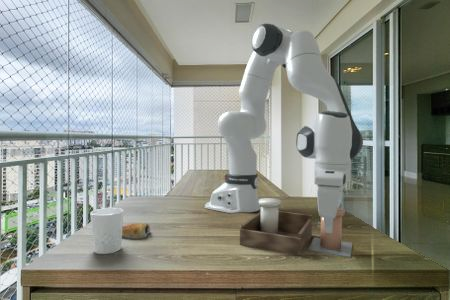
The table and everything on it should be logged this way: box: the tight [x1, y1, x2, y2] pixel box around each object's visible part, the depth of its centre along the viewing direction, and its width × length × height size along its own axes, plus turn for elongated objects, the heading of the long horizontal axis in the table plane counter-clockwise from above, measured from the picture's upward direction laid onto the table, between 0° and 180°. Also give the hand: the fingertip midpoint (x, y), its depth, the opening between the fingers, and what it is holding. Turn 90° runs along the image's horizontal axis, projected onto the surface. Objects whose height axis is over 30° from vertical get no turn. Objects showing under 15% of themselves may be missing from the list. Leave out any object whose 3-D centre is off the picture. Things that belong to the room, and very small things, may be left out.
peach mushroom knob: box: [319, 206, 346, 250], centre depth 77 cm, size 6×6×10 cm
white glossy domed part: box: [258, 197, 282, 234], centre depth 87 cm, size 6×6×10 cm
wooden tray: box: [239, 208, 313, 256], centre depth 83 cm, size 16×16×7 cm
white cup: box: [90, 207, 124, 255], centre depth 77 cm, size 8×8×10 cm
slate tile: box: [307, 237, 354, 259], centre depth 78 cm, size 10×10×1 cm
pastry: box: [122, 222, 151, 240], centre depth 88 cm, size 9×7×4 cm
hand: (331, 226), depth 77 cm, fingers open, 8 cm apart
